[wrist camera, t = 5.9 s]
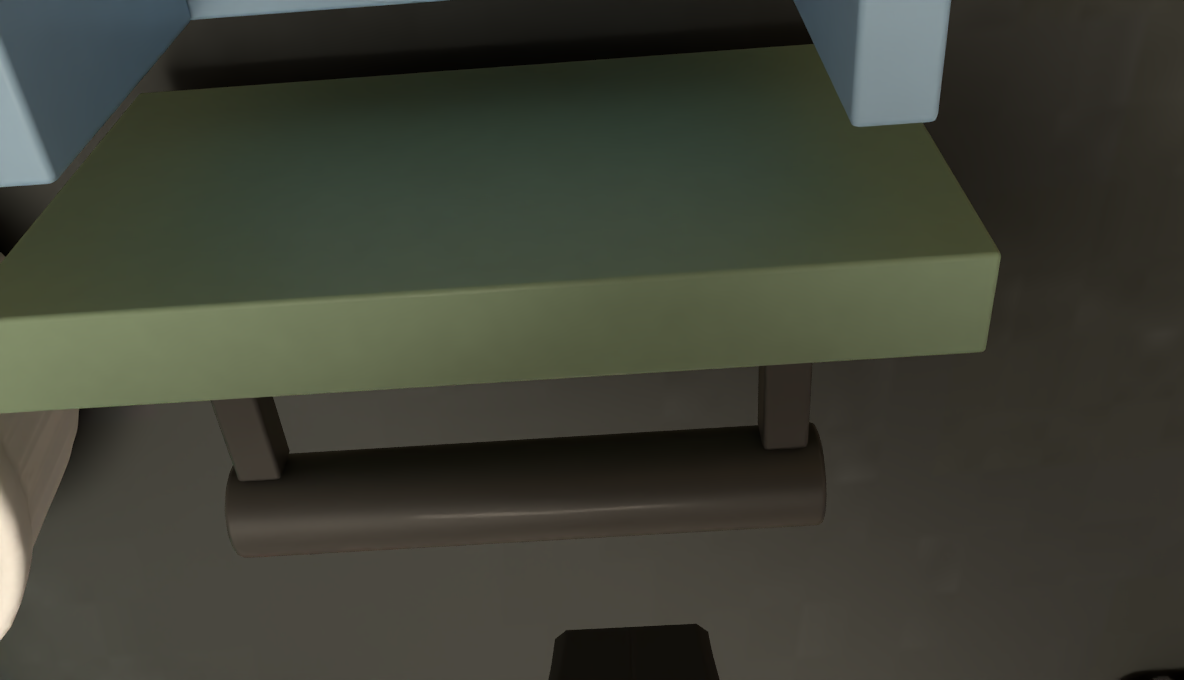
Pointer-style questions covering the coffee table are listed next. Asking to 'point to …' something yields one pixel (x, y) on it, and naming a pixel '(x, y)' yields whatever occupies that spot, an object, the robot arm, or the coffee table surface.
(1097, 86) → the coffee table surface
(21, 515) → the ramekin
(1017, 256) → the coffee table surface
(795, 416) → the drawer
